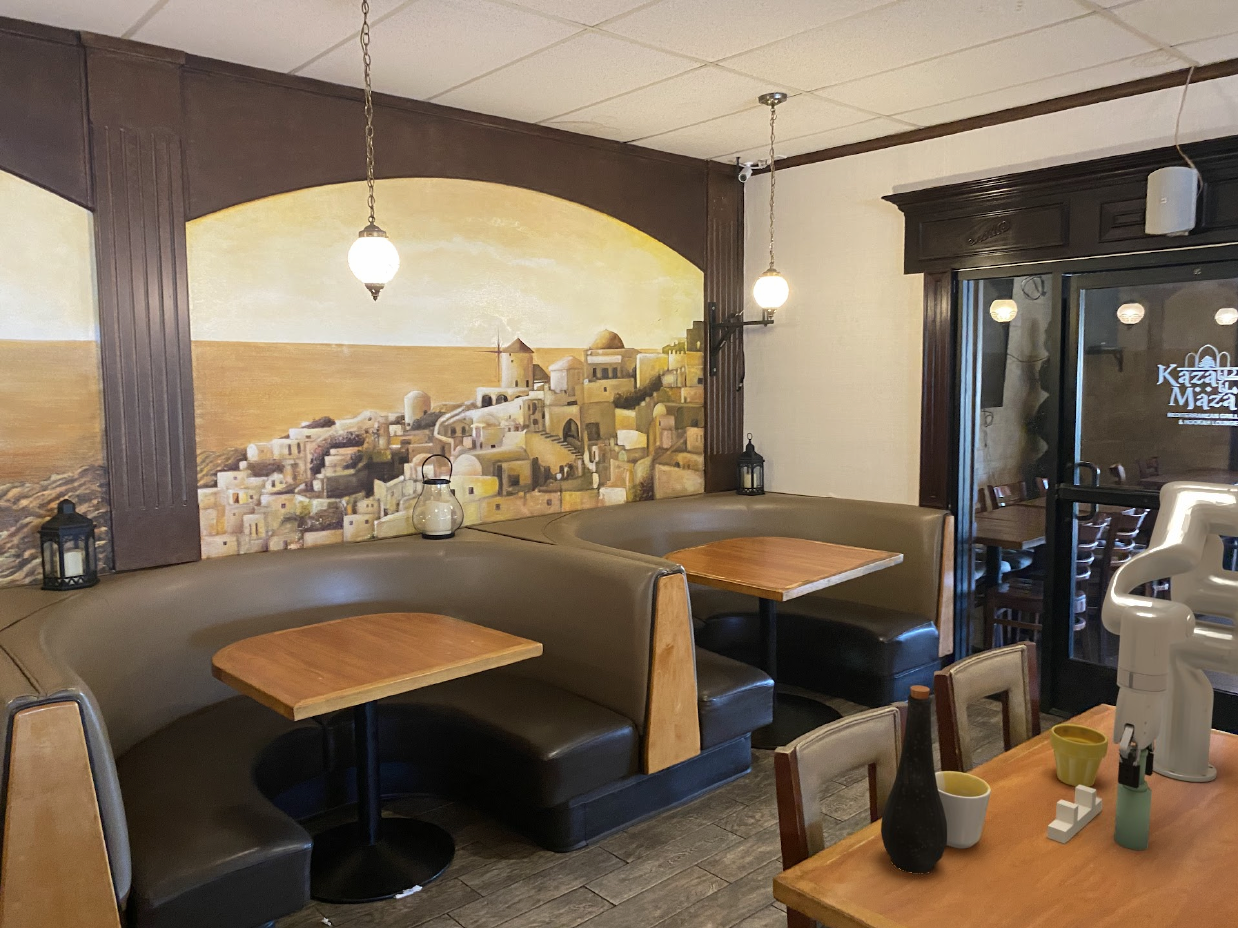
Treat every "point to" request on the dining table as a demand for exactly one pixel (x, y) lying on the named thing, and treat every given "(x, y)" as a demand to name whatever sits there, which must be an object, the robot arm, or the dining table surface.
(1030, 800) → the dining table surface
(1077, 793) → the u rest
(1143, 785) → the green bottle
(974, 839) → the mug
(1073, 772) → the plant pot
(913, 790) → the bottle
